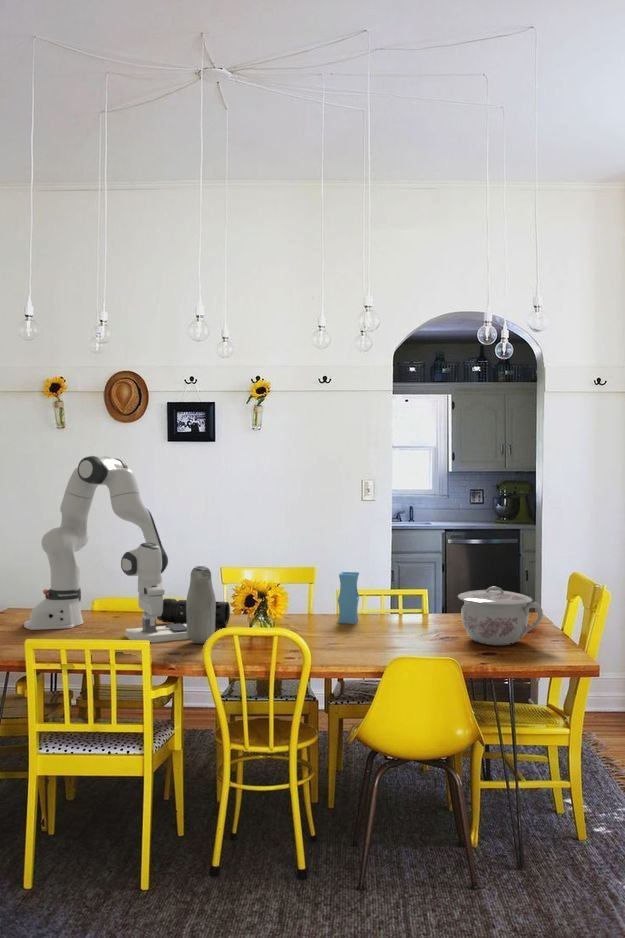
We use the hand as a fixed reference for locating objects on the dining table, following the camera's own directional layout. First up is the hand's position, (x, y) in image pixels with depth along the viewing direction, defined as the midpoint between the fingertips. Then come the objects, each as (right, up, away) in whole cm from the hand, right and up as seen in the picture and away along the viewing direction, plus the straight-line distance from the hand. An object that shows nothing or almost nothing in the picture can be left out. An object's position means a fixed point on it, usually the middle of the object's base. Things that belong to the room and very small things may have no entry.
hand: (149, 624), depth 302 cm
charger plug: (0, -2, 0) cm, 2 cm away
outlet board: (+4, -5, +2) cm, 7 cm away
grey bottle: (+20, -6, -7) cm, 22 cm away
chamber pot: (+128, -7, +2) cm, 129 cm away
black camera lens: (+13, -5, +23) cm, 27 cm away
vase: (+75, -6, +34) cm, 83 cm away
